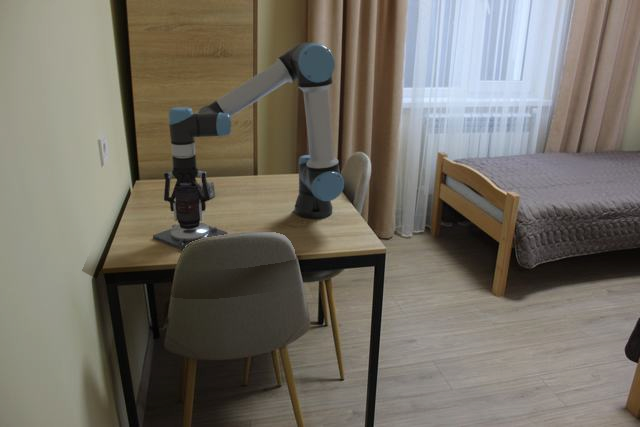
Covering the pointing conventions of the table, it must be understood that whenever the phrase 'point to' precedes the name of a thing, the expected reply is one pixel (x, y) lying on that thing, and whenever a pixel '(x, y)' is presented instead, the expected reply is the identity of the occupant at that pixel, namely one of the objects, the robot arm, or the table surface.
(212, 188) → the caster wheel
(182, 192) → the camera lens
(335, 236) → the table surface
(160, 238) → the mount board
